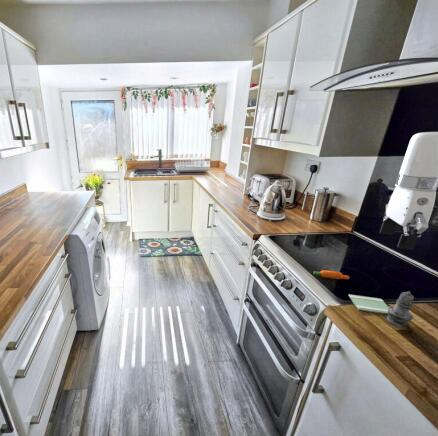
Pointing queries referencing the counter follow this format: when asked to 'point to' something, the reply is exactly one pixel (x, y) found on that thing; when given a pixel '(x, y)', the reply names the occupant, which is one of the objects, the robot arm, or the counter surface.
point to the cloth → (369, 304)
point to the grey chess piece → (401, 310)
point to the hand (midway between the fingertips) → (394, 240)
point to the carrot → (331, 274)
